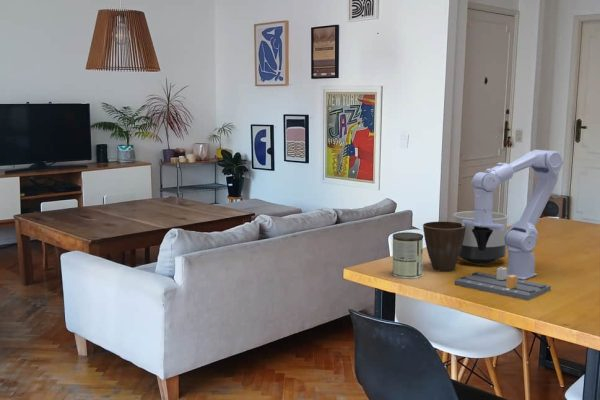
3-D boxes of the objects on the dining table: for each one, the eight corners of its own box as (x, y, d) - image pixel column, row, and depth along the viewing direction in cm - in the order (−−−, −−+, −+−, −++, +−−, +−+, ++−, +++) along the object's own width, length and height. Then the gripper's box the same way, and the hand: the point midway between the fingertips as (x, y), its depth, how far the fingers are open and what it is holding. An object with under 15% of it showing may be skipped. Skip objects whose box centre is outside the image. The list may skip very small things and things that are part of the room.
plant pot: (458, 276, 216) (459, 230, 214) (416, 271, 223) (417, 226, 221) (469, 266, 229) (470, 223, 227) (429, 262, 236) (430, 220, 234)
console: (478, 276, 215) (479, 270, 215) (550, 290, 197) (550, 284, 197) (454, 284, 205) (454, 278, 205) (527, 300, 187) (528, 293, 187)
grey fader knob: (501, 277, 206) (501, 266, 206) (506, 278, 205) (507, 267, 204) (496, 279, 204) (496, 268, 204) (502, 280, 203) (502, 269, 202)
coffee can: (389, 271, 223) (390, 232, 221) (418, 271, 223) (419, 231, 221) (395, 279, 212) (395, 238, 211) (425, 278, 213) (426, 237, 211)
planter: (508, 268, 225) (510, 219, 223) (453, 266, 229) (454, 218, 227) (502, 256, 244) (504, 211, 242) (451, 254, 248) (452, 210, 246)
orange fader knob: (511, 285, 196) (511, 274, 196) (517, 286, 195) (517, 275, 195) (506, 287, 194) (506, 276, 194) (512, 288, 193) (512, 277, 192)
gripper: (457, 208, 209) (456, 248, 210) (497, 212, 198) (495, 255, 200) (468, 206, 214) (467, 245, 215) (508, 210, 203) (506, 251, 205)
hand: (481, 249), depth 208 cm, fingers closed
